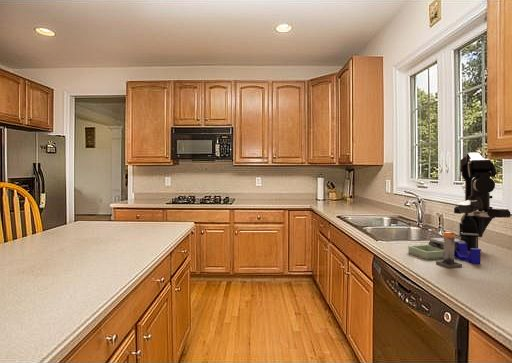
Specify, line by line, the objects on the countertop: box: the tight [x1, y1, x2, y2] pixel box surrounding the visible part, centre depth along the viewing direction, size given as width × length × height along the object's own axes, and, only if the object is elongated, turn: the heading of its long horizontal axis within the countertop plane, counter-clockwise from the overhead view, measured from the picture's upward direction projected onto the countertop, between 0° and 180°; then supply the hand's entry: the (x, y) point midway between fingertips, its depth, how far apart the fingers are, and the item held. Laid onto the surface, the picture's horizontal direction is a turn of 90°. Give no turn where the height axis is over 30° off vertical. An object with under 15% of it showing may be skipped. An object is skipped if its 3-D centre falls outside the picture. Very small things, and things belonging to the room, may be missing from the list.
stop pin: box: [443, 231, 456, 265], centre depth 127 cm, size 4×4×12 cm
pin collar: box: [435, 260, 463, 269], centre depth 127 cm, size 6×6×1 cm
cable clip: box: [454, 243, 482, 265], centre depth 134 cm, size 12×4×6 cm, turn 173°
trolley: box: [427, 237, 465, 253], centre depth 145 cm, size 13×12×6 cm
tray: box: [407, 244, 444, 261], centre depth 142 cm, size 9×12×3 cm
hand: (480, 234), depth 125 cm, fingers closed
